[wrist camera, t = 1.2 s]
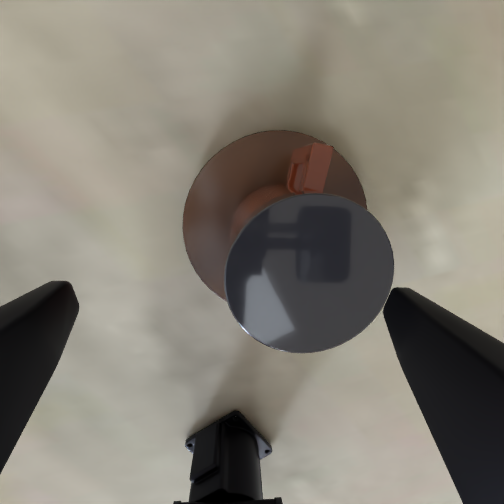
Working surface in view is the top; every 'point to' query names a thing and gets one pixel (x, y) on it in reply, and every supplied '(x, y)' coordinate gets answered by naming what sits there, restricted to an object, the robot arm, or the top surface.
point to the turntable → (239, 186)
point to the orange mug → (305, 261)
